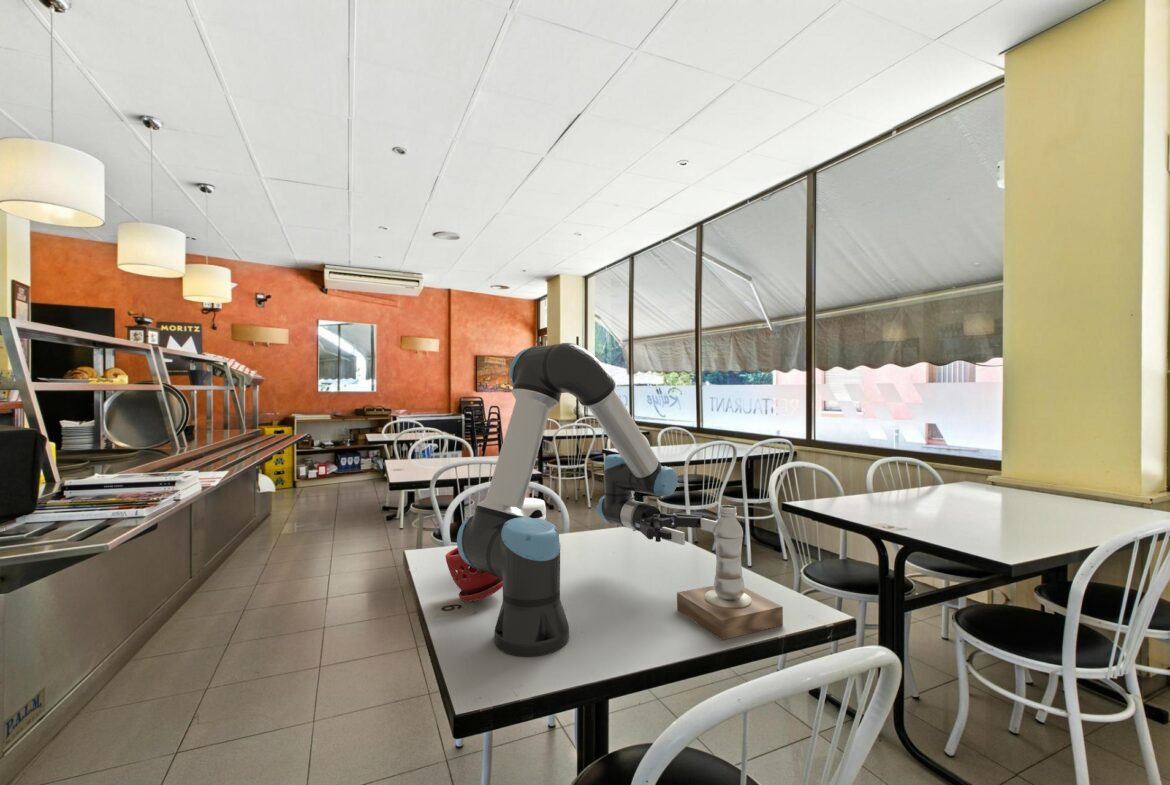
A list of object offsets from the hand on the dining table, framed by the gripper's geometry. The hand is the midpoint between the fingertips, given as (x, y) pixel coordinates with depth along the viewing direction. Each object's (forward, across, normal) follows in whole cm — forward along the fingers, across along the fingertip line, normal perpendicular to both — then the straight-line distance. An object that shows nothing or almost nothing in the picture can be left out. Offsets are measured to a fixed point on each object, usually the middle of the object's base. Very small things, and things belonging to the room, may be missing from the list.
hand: (704, 533), depth 118 cm
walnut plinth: (+7, 0, -17) cm, 18 cm away
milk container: (-55, +18, -17) cm, 60 cm away
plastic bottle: (+7, 0, -13) cm, 15 cm away
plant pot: (-36, +38, -16) cm, 55 cm away
